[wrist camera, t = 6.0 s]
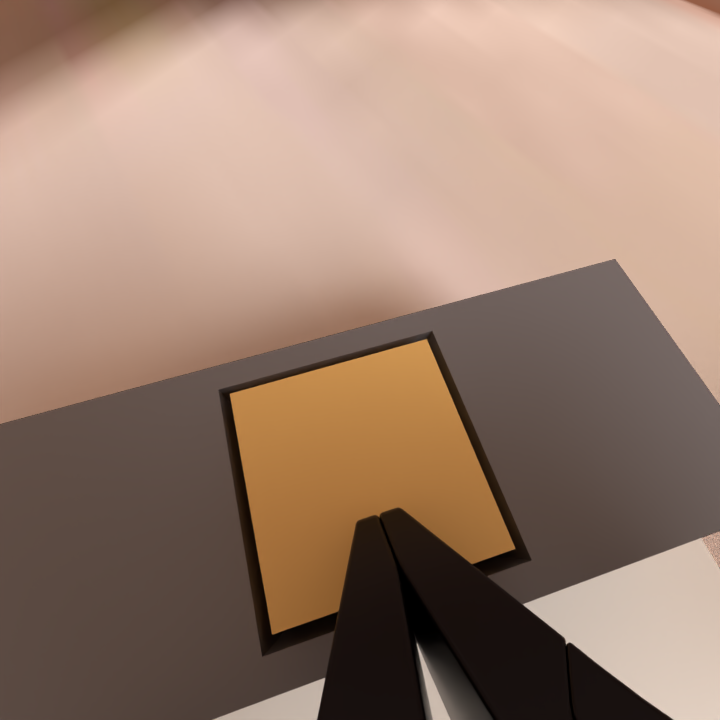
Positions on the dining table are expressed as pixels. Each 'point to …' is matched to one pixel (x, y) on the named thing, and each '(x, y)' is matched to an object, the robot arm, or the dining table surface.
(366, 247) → the dining table surface
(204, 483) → the grey block on base
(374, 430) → the amber key
